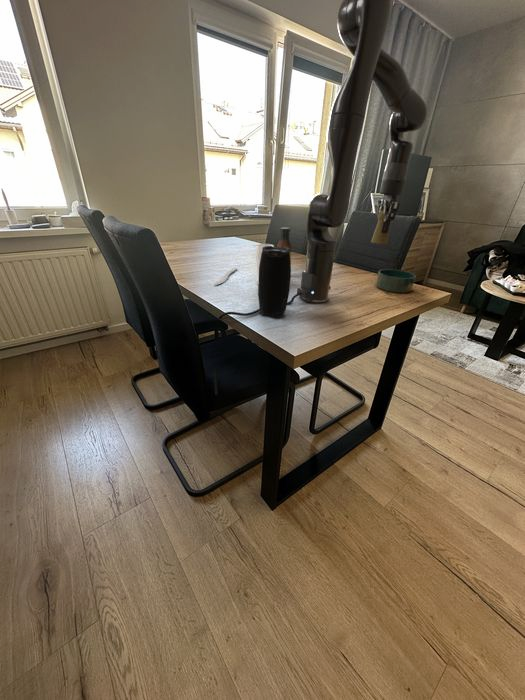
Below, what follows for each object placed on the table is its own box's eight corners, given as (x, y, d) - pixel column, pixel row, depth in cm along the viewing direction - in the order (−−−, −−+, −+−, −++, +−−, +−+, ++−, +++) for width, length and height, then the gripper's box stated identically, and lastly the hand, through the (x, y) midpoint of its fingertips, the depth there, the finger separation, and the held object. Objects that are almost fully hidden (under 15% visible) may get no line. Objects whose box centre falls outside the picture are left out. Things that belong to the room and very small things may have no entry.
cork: (384, 244, 104) (392, 211, 99) (368, 242, 107) (375, 210, 102) (389, 242, 108) (397, 210, 103) (373, 240, 111) (380, 209, 106)
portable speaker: (253, 309, 90) (255, 245, 80) (280, 307, 93) (285, 244, 83) (263, 320, 83) (266, 251, 73) (291, 317, 86) (298, 250, 76)
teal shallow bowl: (395, 295, 108) (399, 280, 105) (368, 285, 119) (371, 270, 116) (418, 291, 114) (423, 276, 111) (390, 281, 125) (394, 268, 122)
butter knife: (239, 268, 132) (233, 267, 133) (219, 285, 110) (212, 284, 110) (239, 269, 133) (233, 268, 133) (219, 286, 110) (212, 285, 110)
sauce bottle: (292, 275, 128) (296, 227, 118) (287, 278, 123) (291, 229, 113) (278, 273, 130) (281, 226, 120) (273, 276, 125) (276, 228, 115)
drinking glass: (275, 283, 115) (277, 245, 108) (266, 287, 110) (268, 247, 103) (261, 280, 118) (262, 243, 111) (252, 284, 113) (253, 245, 106)
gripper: (375, 178, 103) (365, 229, 112) (391, 177, 91) (378, 234, 100) (396, 179, 103) (384, 229, 112) (414, 178, 91) (399, 235, 100)
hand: (381, 231), depth 106 cm, fingers closed on cork, 4 cm apart
